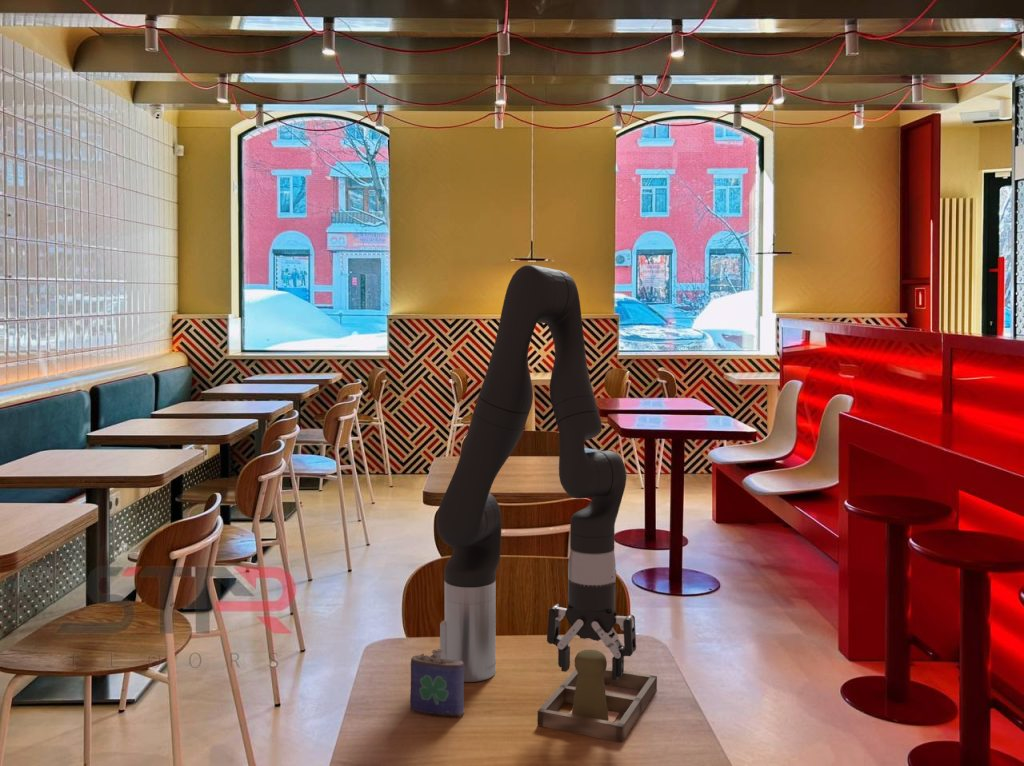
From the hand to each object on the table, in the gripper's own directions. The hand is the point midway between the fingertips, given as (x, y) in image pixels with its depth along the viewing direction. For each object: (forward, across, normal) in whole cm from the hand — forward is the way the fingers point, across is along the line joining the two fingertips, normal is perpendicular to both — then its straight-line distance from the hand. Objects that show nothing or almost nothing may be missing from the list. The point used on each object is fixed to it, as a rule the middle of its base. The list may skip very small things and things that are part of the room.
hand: (590, 674), depth 155 cm
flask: (+8, -24, -8) cm, 26 cm away
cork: (+8, 0, 0) cm, 8 cm away
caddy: (+8, 0, +5) cm, 9 cm away
